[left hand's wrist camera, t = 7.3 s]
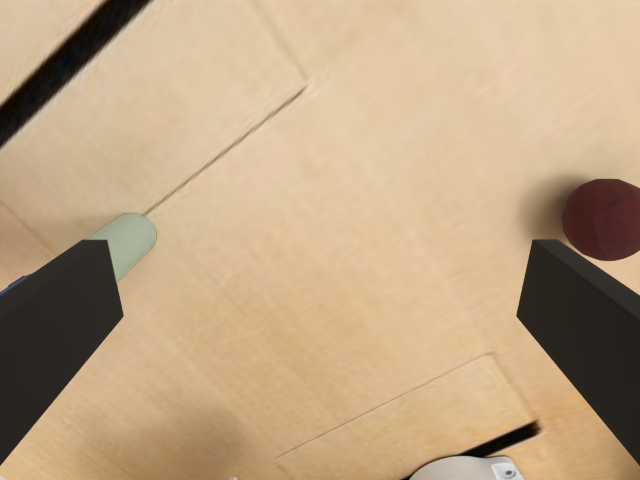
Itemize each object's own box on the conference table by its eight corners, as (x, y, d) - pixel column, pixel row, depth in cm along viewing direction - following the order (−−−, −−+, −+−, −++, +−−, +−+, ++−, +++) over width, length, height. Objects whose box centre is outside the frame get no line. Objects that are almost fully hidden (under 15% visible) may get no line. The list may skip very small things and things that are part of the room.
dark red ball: (563, 254, 43) (607, 286, 36) (535, 196, 40) (576, 219, 34) (631, 218, 41) (690, 244, 35) (606, 155, 39) (665, 171, 32)
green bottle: (120, 254, 43) (15, 346, 28) (107, 214, 41) (-11, 290, 27) (161, 250, 43) (78, 341, 28) (150, 210, 41) (55, 284, 26)
